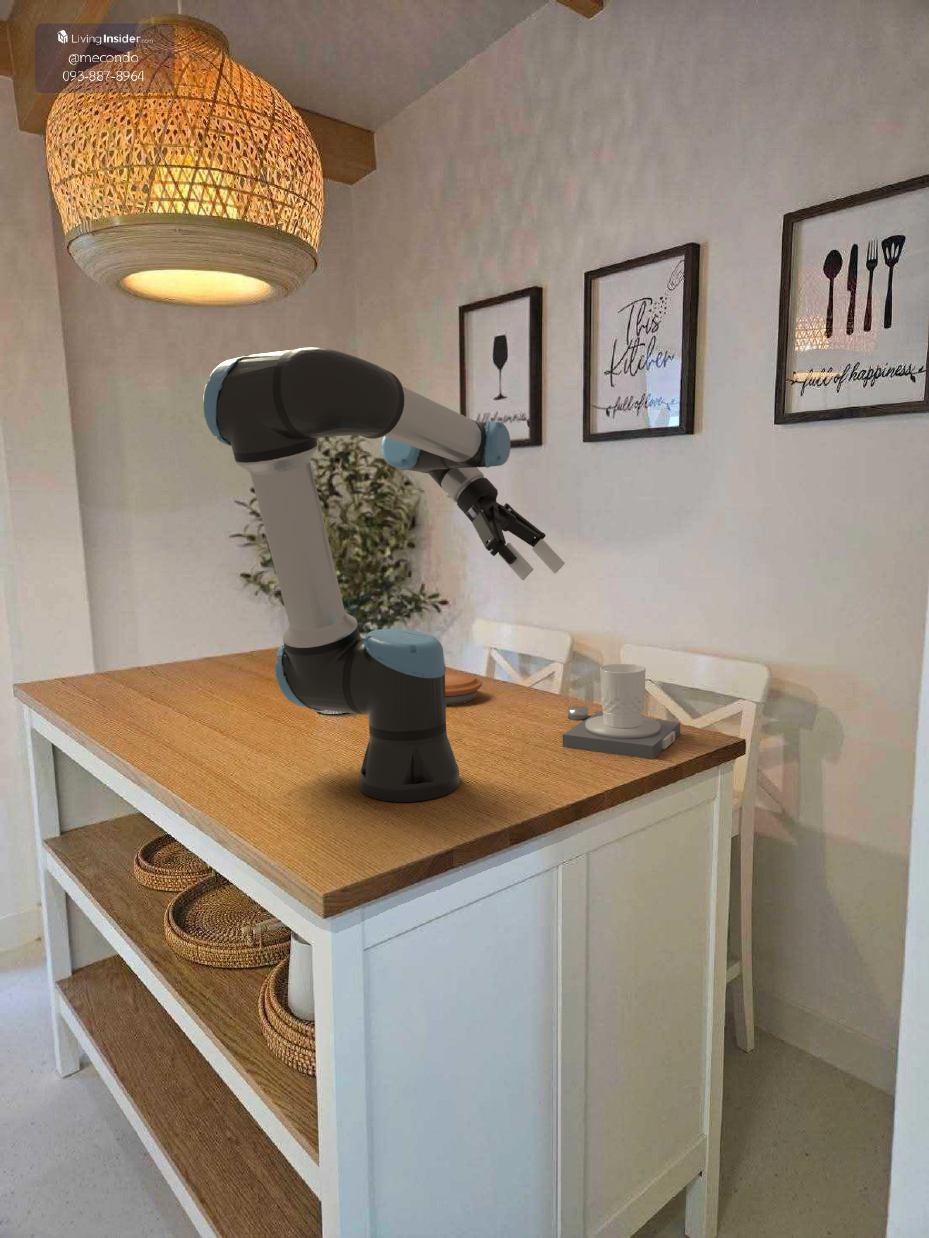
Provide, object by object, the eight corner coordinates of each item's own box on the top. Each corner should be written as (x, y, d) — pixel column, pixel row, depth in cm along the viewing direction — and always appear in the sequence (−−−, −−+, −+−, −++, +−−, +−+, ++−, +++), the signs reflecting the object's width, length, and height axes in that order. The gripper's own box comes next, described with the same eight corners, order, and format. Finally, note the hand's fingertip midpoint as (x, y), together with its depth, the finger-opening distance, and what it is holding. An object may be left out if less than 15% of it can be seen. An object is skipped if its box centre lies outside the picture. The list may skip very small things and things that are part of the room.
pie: (497, 699, 177) (496, 676, 177) (440, 712, 168) (439, 688, 167) (453, 688, 189) (453, 667, 189) (398, 699, 180) (397, 677, 179)
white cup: (645, 730, 139) (645, 673, 138) (598, 728, 141) (598, 672, 139) (645, 718, 147) (645, 663, 145) (601, 717, 148) (600, 663, 147)
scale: (656, 759, 133) (656, 741, 132) (562, 746, 141) (562, 729, 141) (683, 734, 146) (684, 718, 146) (596, 724, 155) (596, 708, 154)
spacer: (583, 722, 157) (583, 712, 157) (564, 719, 159) (564, 709, 159) (591, 717, 160) (591, 707, 160) (573, 714, 163) (573, 705, 162)
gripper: (490, 504, 165) (559, 579, 160) (422, 506, 144) (499, 592, 138) (513, 476, 162) (584, 552, 156) (447, 474, 140) (527, 562, 135)
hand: (544, 571), depth 147 cm, fingers open, 13 cm apart
